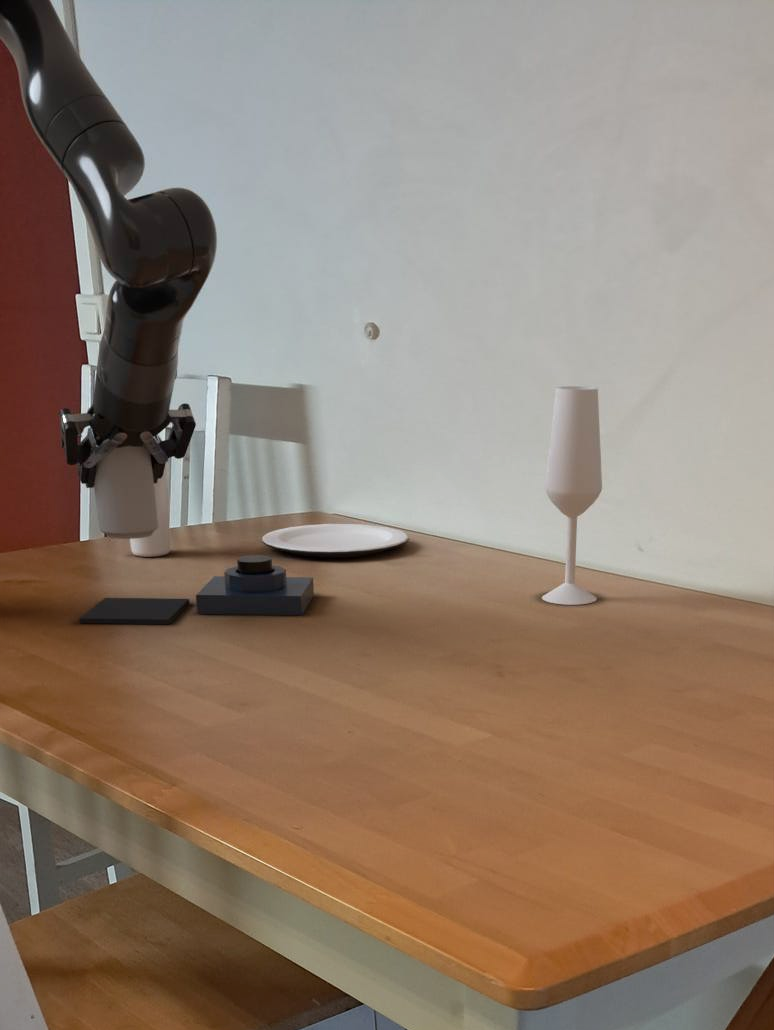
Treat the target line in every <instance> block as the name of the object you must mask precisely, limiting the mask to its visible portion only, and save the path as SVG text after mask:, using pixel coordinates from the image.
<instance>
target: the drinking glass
mask: <svg viewBox="0 0 774 1030" xmlns="http://www.w3.org/2000/svg"><path fill="white" fill-rule="evenodd" d="M164 440H165V439H162V441H164ZM169 471H170V470H169V460H168V461H167V462H166V463H165V468H164V473H163V476H162V477H161V479H158V481H157V483H154V490H155V500H156V510H157V520H158V528H157V529H156V530H155V531H154V532H153V533H152V535H151V536H148V537H143V538H134V539H129V545H130V551H131V553H132V554H133V555H134V556H136V557H142V558H155V557H163V556H166V555H168V554H169V553H170V552H171V538H170V472H169Z"/></svg>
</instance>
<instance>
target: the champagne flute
mask: <svg viewBox="0 0 774 1030" xmlns="http://www.w3.org/2000/svg"><path fill="white" fill-rule="evenodd" d="M553 403H554V404H553V411H552V421H551V429H550V437H549V438H550V439H549V445H548V454H547V456H548V457H547V463H546V472H545V481H544V491H545V493H546V495H547V497H548V499H549V500H550V502H551V503H552V504H553V505H554V506H555V507H556V509H557V510H559V512H560V513H561V514H563V515H564V516H566V518H567V519H566V544H565V549H566V550H565V568H564V569H565V571H564V572H565V573H564V583H562V584H560V585H559V586H556V587H555V588H554V589H552V590H550V591H549V592H547V593H545V594H544V595H542V596H541V599H542V600H543V601H544V602H547V603H551V604H555V605H568V606H569V605H570V606H575V605H586V604H591V603H595V602H596V601H597V597H596V596H595V595H593V594H592V593H590V592H589V591H588V590H586V589H584V588H583V587H581V586H580V585H579V584H577V583H576V560H577V559H576V557H577V535H578V532H577V531H578V517H579V516H581V515H582V514H584V513H585V512H586V511H587V510H588V509H589V508H591V506H592V505H594V504H595V502H596V501H597V499H598V498H599V497H600V495H601V493H602V490H603V475H602V457H601V456H602V453H601V431H600V428H601V427H600V407H599V406H600V405H599V388H598V387H594V386H581V385H580V386H579V385H578V386H573V385H572V386H571V385H569V386H556V388H555V393H554V402H553Z"/></svg>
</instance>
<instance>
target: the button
mask: <svg viewBox="0 0 774 1030" xmlns="http://www.w3.org/2000/svg"><path fill="white" fill-rule="evenodd" d="M236 565H237V567H238V573H239V574H245V575H259V574H268V573H272V572H273V571H272V565H273V558H272V557H270V556H268V555H245V556H240V557H238V558H237V559H236Z"/></svg>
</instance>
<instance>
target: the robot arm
mask: <svg viewBox="0 0 774 1030" xmlns="http://www.w3.org/2000/svg"><path fill="white" fill-rule="evenodd" d="M0 40H1V41H2V42H3V44H4V45H5V46H6V48H7V50H8V51H9V52H10V54H11V56H12V57H13V60H14V62H15V65H16V69H17V73H18V80H19V87H20V94H21V99H22V104H23V107H24V110H25V113H26V116H27V118H28V120H29V122H30V124H31V126H32V128H33V130H34V132H35V134H36V135H37V137H38V139H39V140H40V142H41V144H42V145H43V146H44V148H45V150H46V151H47V152H48V154H49V155H50V157H51V158H52V159H53V160H54V162H55V164H56V165H57V166H58V168H59V169H60V171H61V172H62V173H63V175H64V177H65V178H66V179H67V181H68V182H69V183H70V185H71V187H72V189H73V191H74V193H75V196H76V198H77V200H78V202H79V205H80V207H81V210H82V212H83V214H84V218H85V220H86V222H87V226H88V227H89V230H90V233H91V237H92V239H93V242H94V245H95V248H96V251H97V254H98V256H99V259H100V261H101V263H102V265H103V267H104V269H105V270H106V272H107V273H108V274H109V276H111V277H112V278H113V279H114V280H115V281H114V282H113V284H112V286H111V288H110V290H109V294H108V298H107V306H106V313H105V322H104V329H103V333H102V336H101V339H100V343H99V349H98V354H97V355H98V356H97V364H96V372H95V380H94V389H93V398H92V399H93V401H92V403H91V406H89V408H88V409H87V412H82V413H74V414H73V413H72V409H70V408H66V407H65V408H62V409H60V410H59V430H60V445H61V448H62V450H63V452H64V456H65V460H66V464H67V465H68V466H75V465H77V469H76V471H77V474H78V478H79V481H80V483H81V484H82V485H85V487H86V489H92V488H93V489H94V481H95V474H96V465H95V464H96V463H97V462H98V461H99V460H100V459H101V458H102V457H104V458H106V457H107V456H108V455H109V454H110V453H111V452H112V451H113V450H114V449H115V448H121V447H125V446H134V447H140V446H143V444H145V445H146V446H147V448H148V449H149V451H150V453H151V460H152V470H153V480H154V483H157V481H158V479H161V477H162V476H163V473H164V468H165V463H166V462H167V461H168V462H169V459H170V458H173V457H174V458H175V459H177V460H180V459H183V458H184V457H185V456H186V454H187V451H188V448H189V445H190V442H191V441H192V438H193V434H194V431H195V429H196V426H197V423H196V420H195V417H194V415H193V411H192V408H191V406H190V404H189V403H187V402H185V403H182V404H180V405H178V408H177V409H170V408H171V403H172V397H173V392H174V387H175V382H176V380H177V377H178V367H179V366H178V365H179V346H180V342H181V335H182V331H183V327H184V321H185V320H184V319H185V318H186V316H187V315H188V313H189V311H190V310H191V309H192V307H193V306H194V304H195V302H196V300H197V298H198V296H199V294H200V293H201V291H202V289H203V288H204V285H205V283H206V282H207V280H208V278H209V275H210V274H211V272H212V269H213V266H214V263H215V260H216V256H217V249H218V234H217V226H216V222H215V219H214V217H213V213H212V211H211V209H210V208H209V206H208V205H207V203H206V202H205V200H204V199H203V198H202V197H201V196H200V195H199V194H197V193H196V192H194V191H192V190H191V189H188V188H184V187H170V188H166V189H162V190H158V191H155V192H150V193H147V194H143V195H141V196H136V197H132V198H129V199H127V198H126V197H125V196H126V195H128V194H129V193H130V192H131V191H133V190H134V188H135V187H136V186H137V185H138V184H139V182H140V180H141V179H142V177H143V176H144V172H145V168H146V159H145V154H144V152H143V149H142V147H141V145H140V143H139V142H138V140H137V138H136V136H135V135H134V134H133V132H131V130H130V129H129V127H128V126H127V123H125V122H124V120H123V118H122V117H121V115H120V114H119V112H118V110H116V108H115V107H114V105H113V104H112V103H111V101H110V100H109V98H108V97H107V96H106V94H105V92H104V91H103V90H102V89H101V87H100V86H99V84H98V83H97V81H96V80H95V78H94V77H93V76H92V73H91V72H90V70H89V69H88V68H87V66H86V64H85V62H83V60H82V57H81V56H80V54H79V52H78V51H77V49H76V47H75V45H74V44H73V42H72V40H71V37H70V36H69V35H68V33H67V31H66V29H65V27H64V25H63V22H62V21H61V19H60V16H59V15H58V13H57V11H56V8H55V7H54V5H53V3H52V1H51V0H0ZM170 424H172V425H171V429H170V431H169V434H168V439H162V438H161V436H160V435H159V434H160V433H161V432H163V430H165V429H166V428H167V427H168V426H169V425H170ZM87 427H88V428H87ZM85 428H87V432H86V433H87V434H86V436H85V437H84V438H83V439H82V440H81V441H80V443H79V441H78V440H79V439H81V438H82V437H83V435H82V434H83V433H84V430H85ZM162 440H164V441H162ZM91 449H92V450H91Z"/></svg>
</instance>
